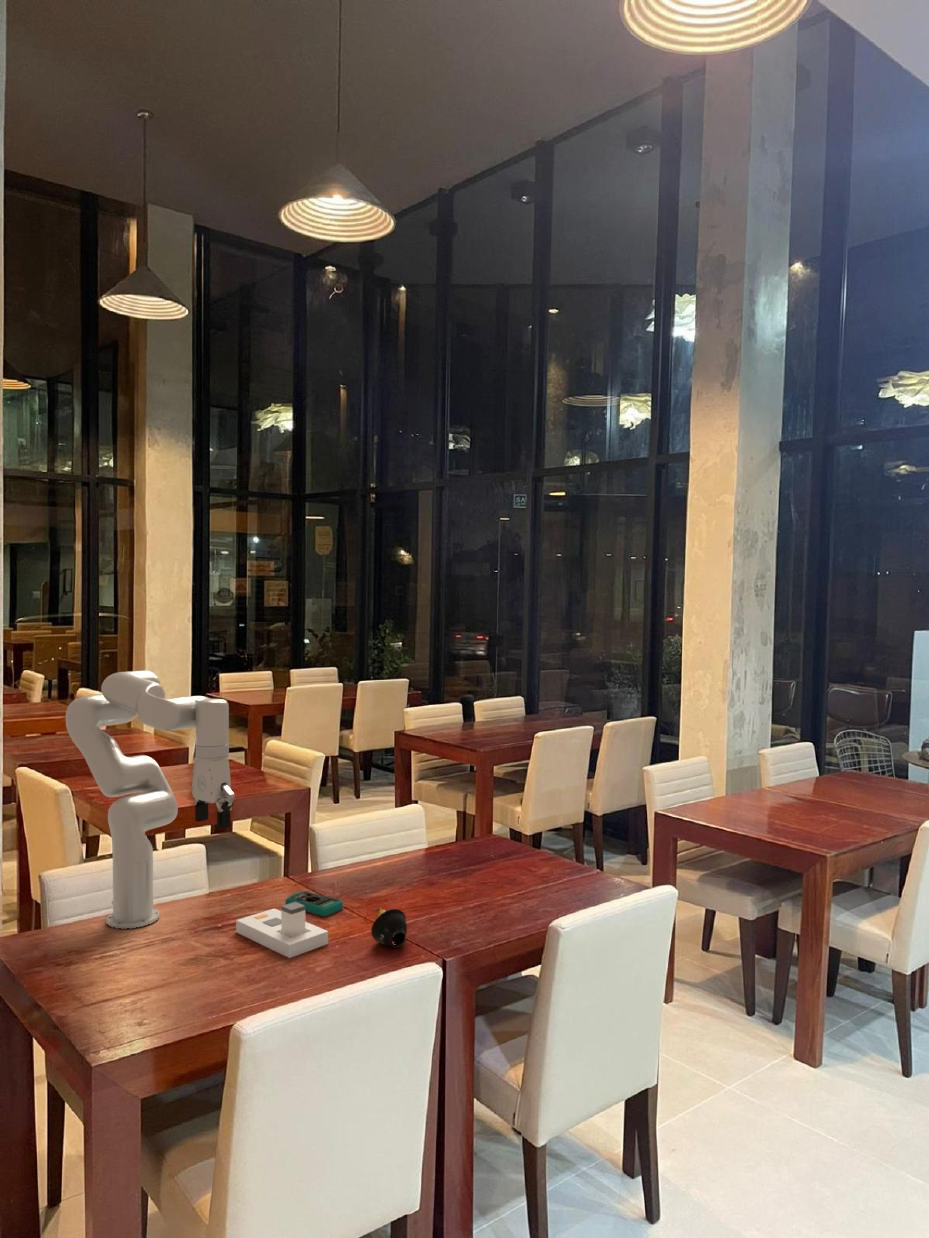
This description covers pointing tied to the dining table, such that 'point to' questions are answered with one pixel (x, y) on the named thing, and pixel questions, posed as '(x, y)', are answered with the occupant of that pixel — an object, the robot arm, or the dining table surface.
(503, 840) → the dining table surface
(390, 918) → the fried shrimp in bowl
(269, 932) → the power strip
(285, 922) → the plug
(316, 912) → the digital multimeter
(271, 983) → the dining table surface
